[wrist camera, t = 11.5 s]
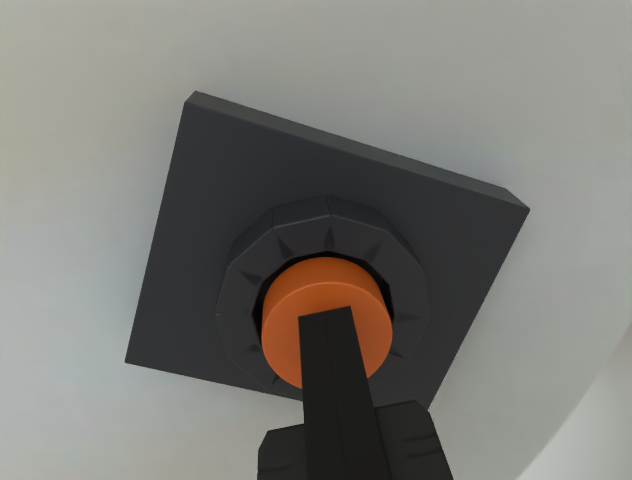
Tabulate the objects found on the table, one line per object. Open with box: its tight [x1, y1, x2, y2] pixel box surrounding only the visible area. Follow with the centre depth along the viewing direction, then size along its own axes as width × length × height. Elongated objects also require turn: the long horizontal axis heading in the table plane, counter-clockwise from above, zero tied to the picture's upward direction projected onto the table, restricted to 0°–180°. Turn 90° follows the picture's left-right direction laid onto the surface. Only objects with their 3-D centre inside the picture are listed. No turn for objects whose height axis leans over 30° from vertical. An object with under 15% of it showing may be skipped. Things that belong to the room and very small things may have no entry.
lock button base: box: [125, 91, 530, 410], centre depth 19 cm, size 12×10×4 cm
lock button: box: [262, 257, 392, 388], centre depth 17 cm, size 4×4×2 cm
